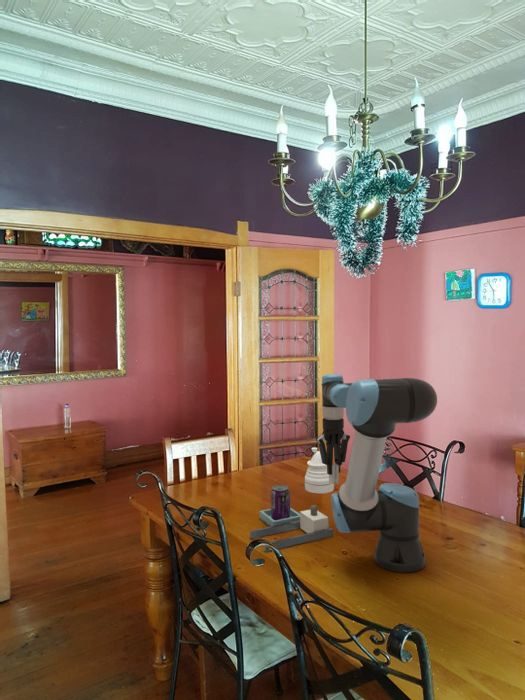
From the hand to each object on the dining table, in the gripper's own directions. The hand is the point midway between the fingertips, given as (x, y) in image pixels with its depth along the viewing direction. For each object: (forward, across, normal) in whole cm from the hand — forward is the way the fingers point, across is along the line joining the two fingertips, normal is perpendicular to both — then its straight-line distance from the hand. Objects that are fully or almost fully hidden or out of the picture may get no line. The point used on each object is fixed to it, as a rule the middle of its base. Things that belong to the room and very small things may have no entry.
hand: (333, 482), depth 184 cm
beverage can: (+16, +14, -14) cm, 26 cm away
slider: (+16, +8, 0) cm, 18 cm away
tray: (+16, +14, -14) cm, 26 cm away
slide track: (+16, +18, 0) cm, 24 cm away
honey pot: (+17, -18, -39) cm, 46 cm away
